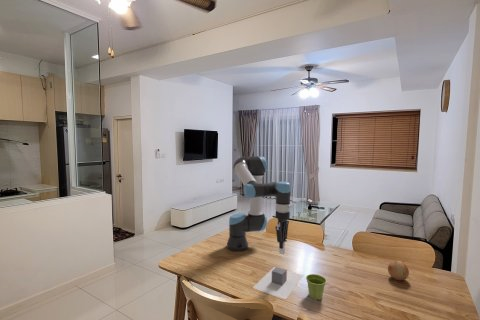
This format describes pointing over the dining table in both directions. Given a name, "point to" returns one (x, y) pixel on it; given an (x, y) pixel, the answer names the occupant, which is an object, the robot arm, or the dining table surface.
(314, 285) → the plant pot
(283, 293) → the grip mat
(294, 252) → the dining table surface
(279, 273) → the flip cube
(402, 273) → the onion
